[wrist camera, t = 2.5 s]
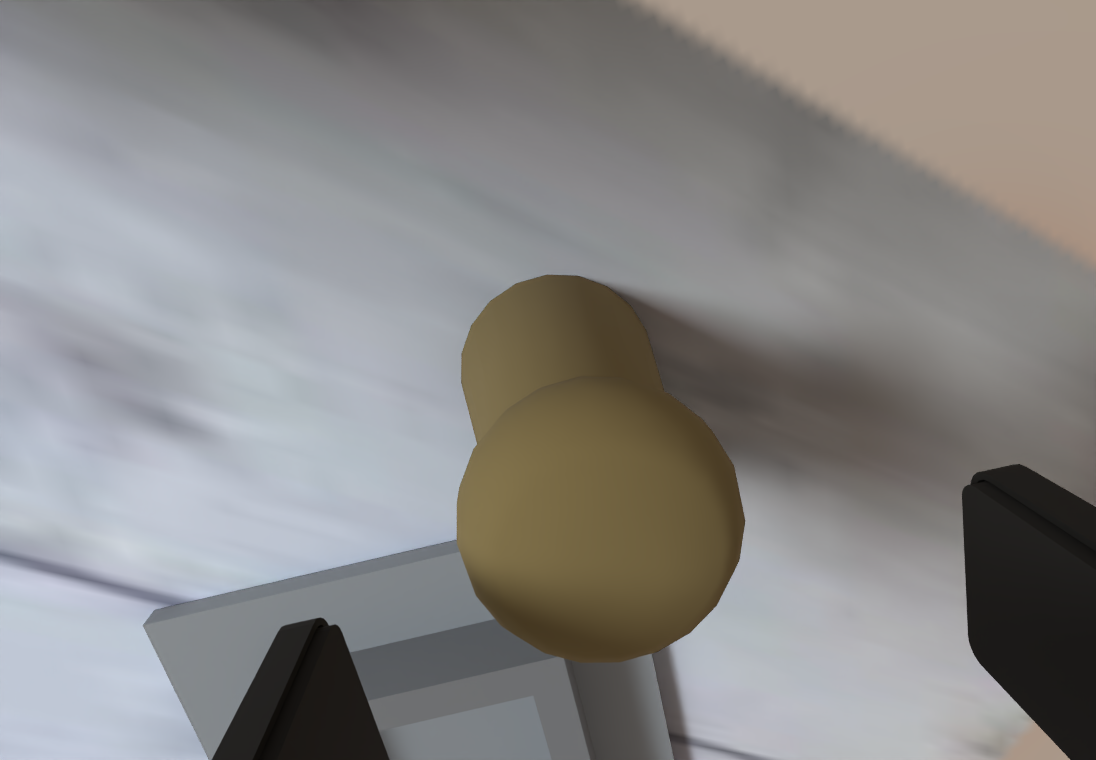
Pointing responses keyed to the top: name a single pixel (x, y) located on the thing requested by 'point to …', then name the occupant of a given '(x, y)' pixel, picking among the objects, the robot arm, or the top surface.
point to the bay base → (417, 666)
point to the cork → (588, 479)
